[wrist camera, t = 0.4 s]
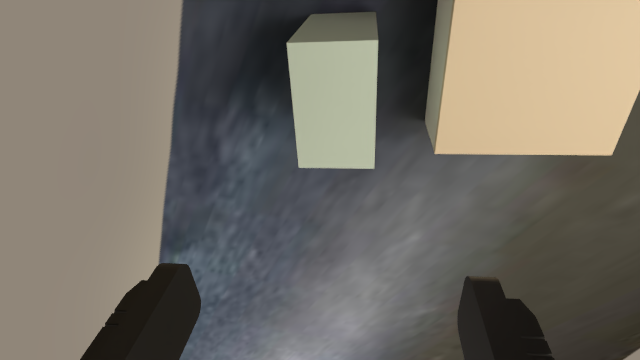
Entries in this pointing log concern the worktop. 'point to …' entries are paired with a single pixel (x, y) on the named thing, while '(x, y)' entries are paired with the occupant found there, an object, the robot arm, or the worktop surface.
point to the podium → (532, 76)
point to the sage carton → (335, 89)
